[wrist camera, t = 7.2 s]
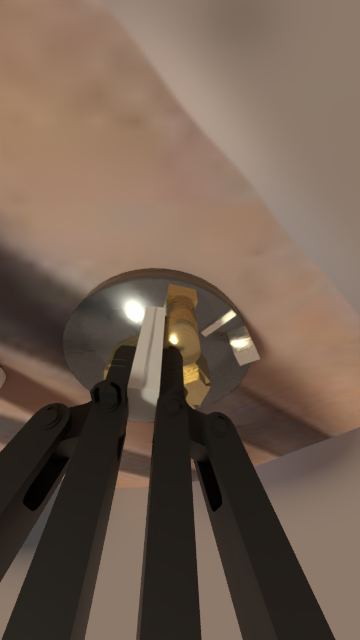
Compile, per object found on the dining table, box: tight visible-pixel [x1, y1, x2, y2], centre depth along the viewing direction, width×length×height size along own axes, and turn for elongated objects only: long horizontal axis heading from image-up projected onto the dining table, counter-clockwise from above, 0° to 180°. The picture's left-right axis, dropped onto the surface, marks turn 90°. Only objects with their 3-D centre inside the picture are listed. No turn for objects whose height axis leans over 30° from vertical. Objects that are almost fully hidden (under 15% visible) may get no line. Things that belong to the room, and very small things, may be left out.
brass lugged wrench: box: [104, 284, 211, 409], centre depth 18 cm, size 17×11×7 cm, turn 165°
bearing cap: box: [62, 268, 260, 409], centre depth 23 cm, size 22×22×7 cm
